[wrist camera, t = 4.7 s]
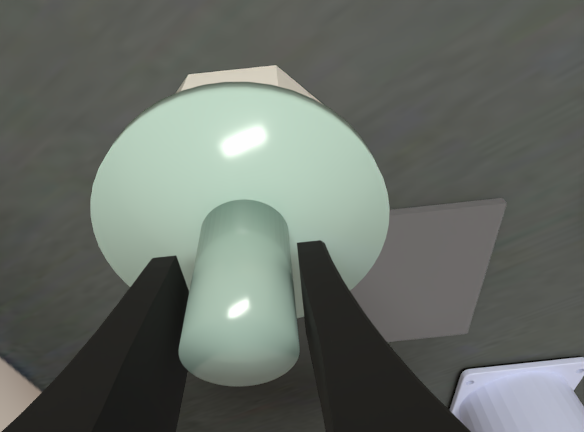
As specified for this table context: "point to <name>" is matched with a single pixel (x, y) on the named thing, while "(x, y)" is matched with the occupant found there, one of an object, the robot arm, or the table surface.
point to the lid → (239, 215)
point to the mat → (430, 269)
